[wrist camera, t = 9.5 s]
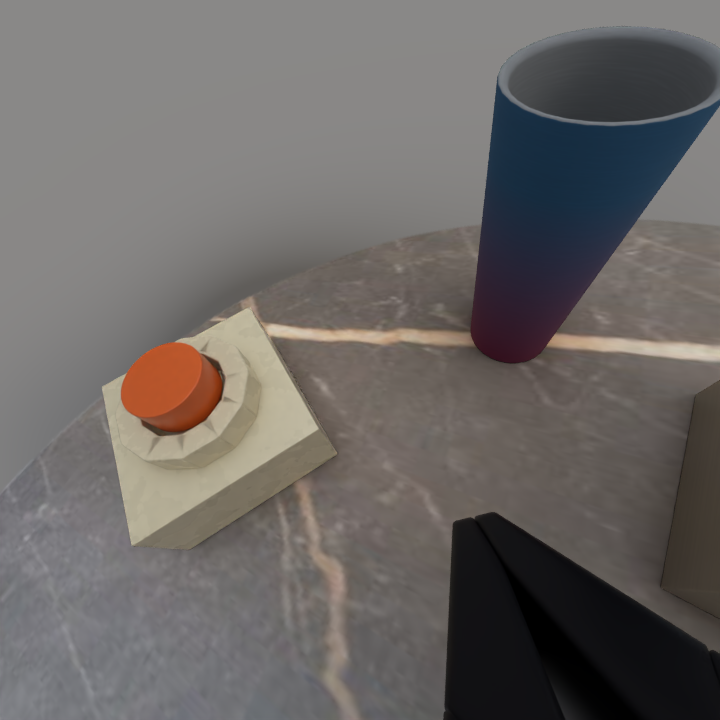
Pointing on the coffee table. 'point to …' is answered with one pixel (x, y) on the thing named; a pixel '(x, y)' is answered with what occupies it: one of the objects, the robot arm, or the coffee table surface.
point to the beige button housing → (217, 443)
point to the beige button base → (698, 511)
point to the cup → (578, 168)
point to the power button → (171, 387)
